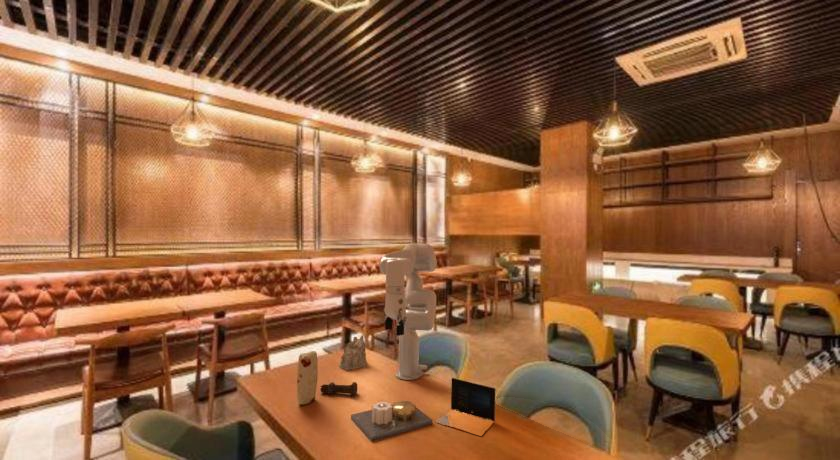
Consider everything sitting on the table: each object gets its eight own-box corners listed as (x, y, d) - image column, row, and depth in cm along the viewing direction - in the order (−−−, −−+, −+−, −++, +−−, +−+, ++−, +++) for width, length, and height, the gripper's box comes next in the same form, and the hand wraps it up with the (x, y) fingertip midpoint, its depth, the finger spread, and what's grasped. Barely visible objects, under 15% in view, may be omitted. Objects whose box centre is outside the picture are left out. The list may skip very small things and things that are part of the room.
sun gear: (401, 406, 152) (401, 398, 152) (420, 413, 147) (420, 405, 147) (386, 415, 145) (386, 407, 145) (405, 422, 140) (405, 414, 140)
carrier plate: (407, 404, 157) (408, 387, 157) (432, 424, 142) (432, 404, 142) (351, 418, 145) (351, 399, 145) (371, 441, 130) (372, 420, 130)
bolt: (322, 396, 168) (356, 397, 166) (318, 394, 164) (353, 396, 162) (324, 382, 171) (358, 383, 169) (320, 380, 167) (355, 381, 165)
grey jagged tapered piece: (355, 356, 215) (355, 329, 214) (372, 365, 203) (372, 337, 202) (329, 364, 205) (329, 335, 204) (346, 374, 193) (345, 344, 192)
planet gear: (386, 413, 146) (386, 399, 146) (395, 421, 140) (395, 407, 140) (368, 417, 143) (368, 404, 143) (377, 426, 137) (377, 412, 137)
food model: (305, 408, 152) (306, 356, 152) (291, 405, 155) (292, 354, 155) (321, 398, 162) (322, 349, 161) (308, 395, 164) (308, 347, 164)
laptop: (435, 423, 143) (436, 388, 143) (451, 410, 154) (451, 377, 154) (481, 438, 134) (482, 400, 134) (495, 423, 144) (495, 388, 144)
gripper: (413, 292, 154) (413, 336, 154) (393, 286, 169) (392, 326, 169) (397, 293, 150) (396, 338, 150) (377, 287, 165) (376, 328, 165)
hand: (394, 332), depth 160 cm, fingers open, 9 cm apart
